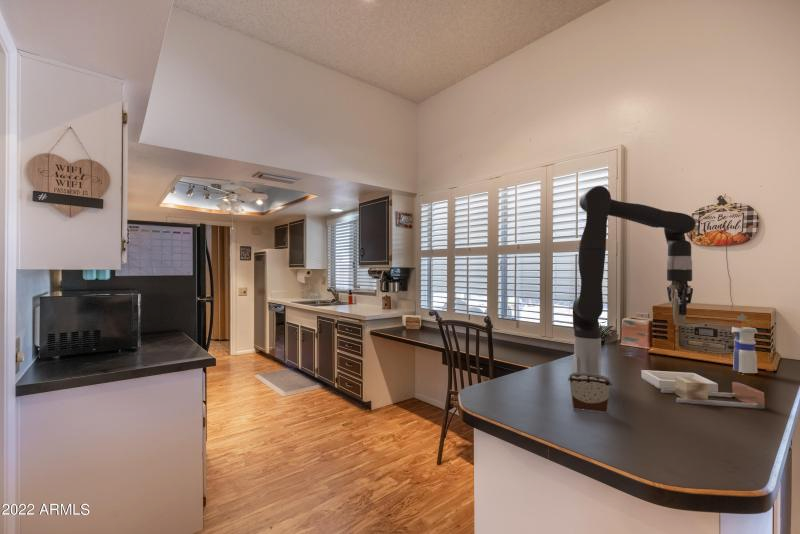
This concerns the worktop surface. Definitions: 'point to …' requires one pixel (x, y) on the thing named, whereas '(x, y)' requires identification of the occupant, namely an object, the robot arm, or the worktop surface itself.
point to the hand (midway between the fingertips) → (679, 314)
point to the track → (738, 391)
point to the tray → (673, 379)
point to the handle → (677, 309)
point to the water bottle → (744, 349)
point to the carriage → (691, 388)
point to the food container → (590, 391)
